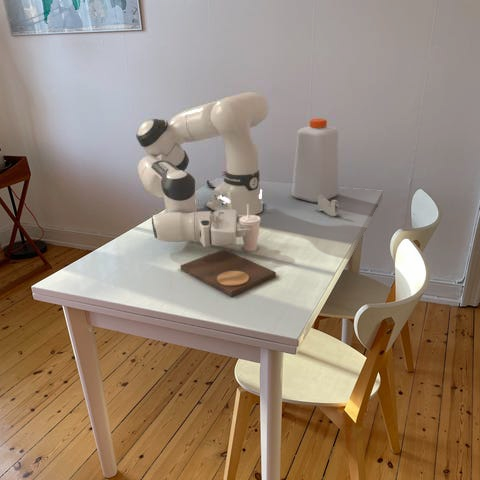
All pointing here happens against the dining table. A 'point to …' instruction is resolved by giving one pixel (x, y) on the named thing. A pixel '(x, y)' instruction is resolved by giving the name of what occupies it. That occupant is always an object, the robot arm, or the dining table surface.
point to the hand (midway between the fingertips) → (252, 225)
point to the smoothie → (253, 223)
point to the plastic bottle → (316, 162)
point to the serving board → (228, 272)
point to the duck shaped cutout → (328, 206)
